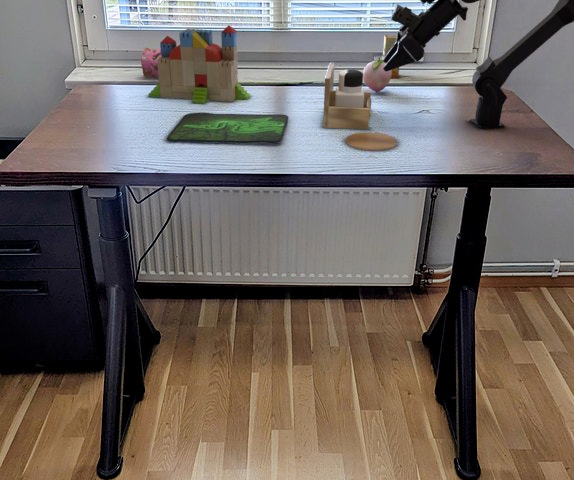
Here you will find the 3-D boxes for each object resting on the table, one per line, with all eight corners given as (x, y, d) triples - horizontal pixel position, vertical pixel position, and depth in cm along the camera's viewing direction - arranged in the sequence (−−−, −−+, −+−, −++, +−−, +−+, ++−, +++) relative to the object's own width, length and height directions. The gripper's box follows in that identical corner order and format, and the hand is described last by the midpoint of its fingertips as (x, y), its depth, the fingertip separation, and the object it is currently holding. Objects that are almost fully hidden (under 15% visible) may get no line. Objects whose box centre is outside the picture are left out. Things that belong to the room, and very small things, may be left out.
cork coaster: (405, 148, 145) (405, 146, 145) (356, 152, 143) (356, 150, 142) (385, 132, 155) (385, 130, 155) (338, 136, 153) (338, 134, 152)
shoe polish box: (382, 77, 203) (386, 38, 197) (381, 74, 207) (384, 35, 201) (398, 78, 203) (402, 38, 197) (396, 74, 207) (400, 35, 201)
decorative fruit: (365, 87, 192) (367, 53, 187) (391, 89, 190) (395, 55, 185) (358, 95, 185) (360, 59, 180) (386, 97, 183) (389, 61, 177)
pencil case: (212, 75, 204) (210, 46, 200) (207, 82, 196) (206, 52, 192) (146, 73, 205) (143, 45, 200) (139, 80, 197) (136, 51, 193)
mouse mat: (164, 141, 148) (163, 137, 147) (185, 114, 166) (185, 110, 166) (281, 145, 146) (281, 141, 145) (289, 117, 164) (289, 113, 164)
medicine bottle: (362, 115, 168) (365, 68, 161) (362, 123, 162) (365, 74, 155) (335, 114, 168) (337, 67, 162) (334, 122, 162) (336, 73, 156)
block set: (144, 100, 178) (136, 27, 168) (161, 88, 190) (154, 19, 180) (241, 106, 174) (239, 31, 164) (253, 93, 186) (251, 22, 176)
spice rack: (370, 110, 172) (374, 64, 165) (369, 129, 157) (373, 80, 151) (328, 108, 173) (330, 62, 167) (323, 127, 158) (324, 78, 152)
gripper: (411, -13, 156) (363, 34, 163) (415, -3, 140) (361, 48, 147) (440, 22, 159) (391, 66, 166) (446, 36, 143) (392, 84, 150)
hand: (384, 65), depth 157 cm, fingers open, 9 cm apart
